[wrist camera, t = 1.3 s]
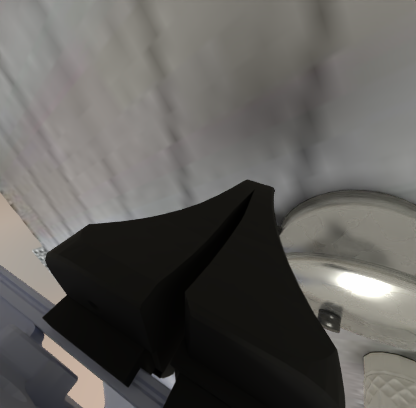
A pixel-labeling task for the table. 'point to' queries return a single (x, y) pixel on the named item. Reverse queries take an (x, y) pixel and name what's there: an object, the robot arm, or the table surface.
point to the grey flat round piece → (354, 228)
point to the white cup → (389, 381)
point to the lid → (358, 296)
